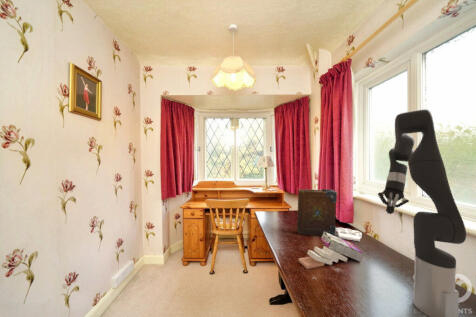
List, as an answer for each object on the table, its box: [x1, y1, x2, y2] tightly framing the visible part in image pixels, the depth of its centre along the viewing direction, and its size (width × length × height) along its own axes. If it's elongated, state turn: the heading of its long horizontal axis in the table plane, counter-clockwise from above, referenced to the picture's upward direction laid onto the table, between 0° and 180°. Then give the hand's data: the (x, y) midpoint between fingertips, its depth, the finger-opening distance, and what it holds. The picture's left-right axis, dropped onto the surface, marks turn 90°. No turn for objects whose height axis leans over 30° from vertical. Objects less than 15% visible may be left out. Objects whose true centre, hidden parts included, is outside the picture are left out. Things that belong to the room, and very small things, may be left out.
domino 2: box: [306, 249, 334, 266], centre depth 86 cm, size 6×2×10 cm
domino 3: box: [321, 245, 349, 263], centre depth 88 cm, size 6×2×10 cm
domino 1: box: [298, 256, 325, 270], centre depth 85 cm, size 6×2×10 cm
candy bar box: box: [320, 232, 364, 263], centre depth 93 cm, size 11×5×16 cm
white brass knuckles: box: [335, 227, 363, 242], centre depth 118 cm, size 3×18×15 cm
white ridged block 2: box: [313, 246, 340, 263], centre depth 87 cm, size 6×2×10 cm
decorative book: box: [296, 188, 338, 237], centre depth 119 cm, size 23×7×30 cm, turn 86°
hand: (389, 213), depth 91 cm, fingers closed
